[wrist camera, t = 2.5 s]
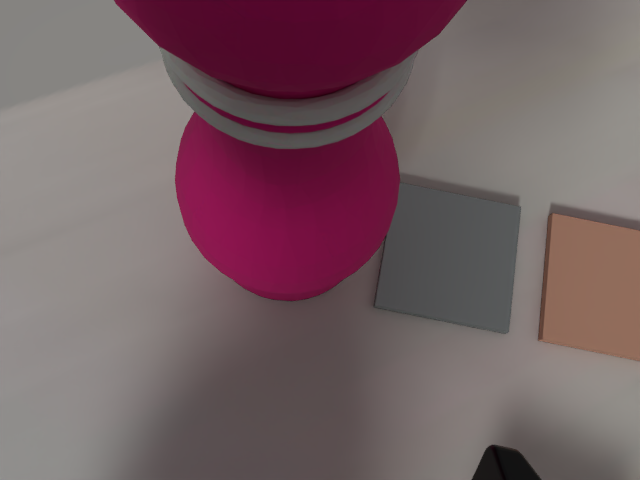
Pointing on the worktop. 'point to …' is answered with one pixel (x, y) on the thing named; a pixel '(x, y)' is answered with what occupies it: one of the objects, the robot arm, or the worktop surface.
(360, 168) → the pepper mill
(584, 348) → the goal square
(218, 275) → the worktop surface
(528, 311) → the worktop surface
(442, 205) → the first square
